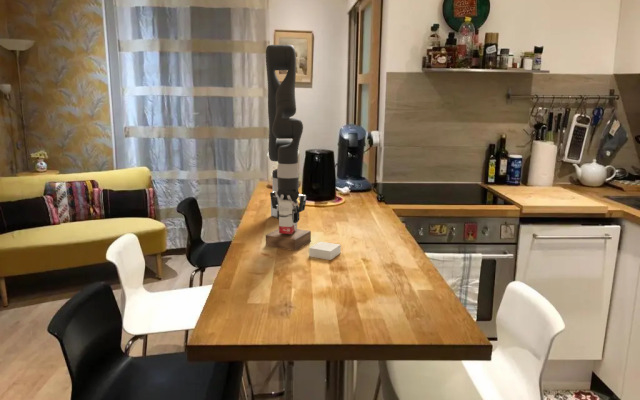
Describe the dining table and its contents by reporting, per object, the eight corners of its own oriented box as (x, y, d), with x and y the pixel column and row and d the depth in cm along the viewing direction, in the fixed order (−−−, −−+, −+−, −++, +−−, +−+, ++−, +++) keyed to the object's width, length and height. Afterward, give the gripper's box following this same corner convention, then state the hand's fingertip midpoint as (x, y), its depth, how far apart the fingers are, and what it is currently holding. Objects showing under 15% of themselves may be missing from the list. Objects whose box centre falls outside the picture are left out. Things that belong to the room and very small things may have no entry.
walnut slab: (265, 245, 185) (265, 235, 184) (282, 236, 195) (282, 226, 194) (295, 250, 180) (295, 239, 179) (310, 241, 190) (310, 230, 189)
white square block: (309, 256, 174) (309, 247, 173) (319, 249, 181) (319, 241, 180) (330, 259, 171) (330, 251, 170) (340, 252, 178) (340, 244, 177)
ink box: (291, 234, 182) (291, 202, 179) (278, 233, 183) (278, 201, 180) (297, 227, 190) (297, 196, 187) (285, 227, 191) (284, 196, 188)
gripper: (265, 175, 182) (265, 221, 186) (301, 178, 176) (301, 226, 179) (275, 171, 188) (276, 216, 192) (311, 175, 182) (310, 221, 186)
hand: (288, 221), depth 186 cm, fingers closed on ink box, 5 cm apart
